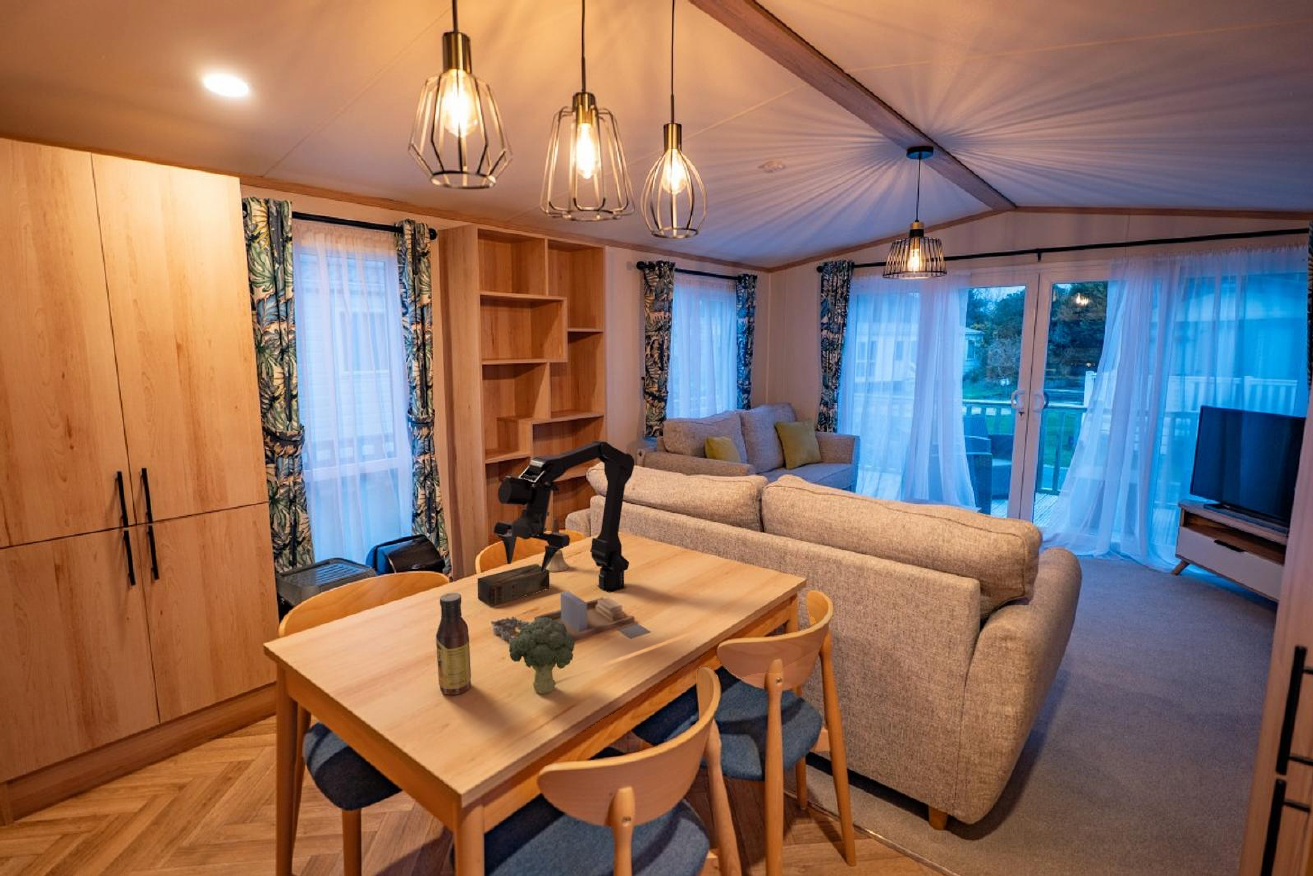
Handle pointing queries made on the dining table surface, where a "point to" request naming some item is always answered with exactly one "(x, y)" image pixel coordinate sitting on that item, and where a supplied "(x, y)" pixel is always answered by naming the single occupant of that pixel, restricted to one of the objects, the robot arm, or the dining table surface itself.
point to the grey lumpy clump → (507, 627)
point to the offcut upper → (609, 605)
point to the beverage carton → (512, 584)
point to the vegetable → (543, 650)
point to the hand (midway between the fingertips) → (525, 567)
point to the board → (574, 611)
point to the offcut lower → (610, 616)
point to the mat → (633, 630)
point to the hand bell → (557, 560)
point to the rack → (590, 621)
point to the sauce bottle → (453, 647)
